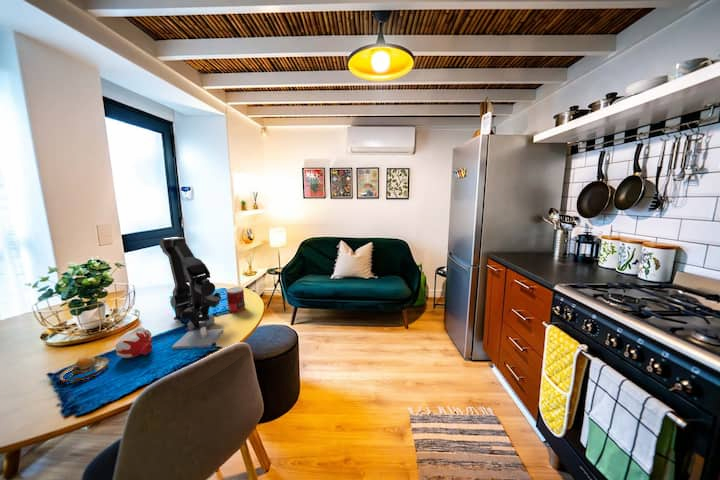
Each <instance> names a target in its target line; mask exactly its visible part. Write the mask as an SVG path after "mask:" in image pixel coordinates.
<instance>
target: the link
mask: <svg viewBox="0 0 720 480" xmlns="http://www.w3.org/2000/svg"><path fill="white" fill-rule="evenodd" d="M215 321H216V320H215V315H214V314H208V315H205V316H202V315H200V316H199V327H198V328H196V327H195V326H194V325H193V324H192V323H191V321H190V320H188V322H187V329H188V331H193V330H200V328H202V327H206V330H210V328H211V326H213V324H214V323H215ZM188 331H187V332H188Z"/></svg>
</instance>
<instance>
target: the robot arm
mask: <svg viewBox="0 0 720 480" xmlns="http://www.w3.org/2000/svg"><path fill="white" fill-rule="evenodd" d="M159 247H160V249H161V251H162V253H163V254H164V255H166V256H167V257H168V262H169V265H170V269H171V274H172V278H173V283H174V288H173V290H172V297H171V300H170V306H171V307H173V308H174V312H175V316H174V317H173V319H174V320H182V319H185V320H186V319H187V320H188V321H191V323H192V324H193V325H194V326H195V327H196V328H198V327H199V316H205V315H209V312H210V311H209V310H210V308H217V306H219V304H220V302H221V300H222V297H221V293H220V292H218V291H217V292H215V291H216V286H215V284H214V283H213V282H211V281H210V278H211V272H210V271H209V269H208V267H207V266H206V264H205V263H204V262H203V261H202V259H200V258H197V257H196V256H195V254H194V253H193V252H192V250H191V249H190V247H189V246H188V244H187V242H186V239H185V238H184V237H179V236H175V237H174V236H173V237H167V238H166V237H165V238H161V240H160V241H159ZM183 264H184V267H183ZM186 278H187V279H186ZM187 281H188V283H187Z"/></svg>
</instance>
